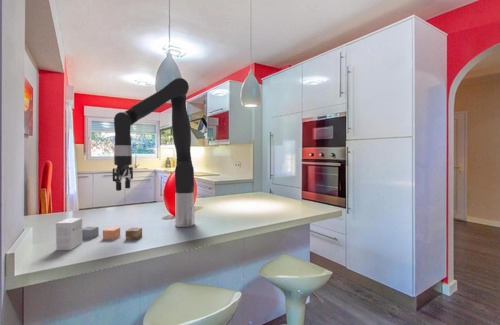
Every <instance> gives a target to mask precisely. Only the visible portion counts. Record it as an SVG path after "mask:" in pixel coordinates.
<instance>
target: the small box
mask: <svg viewBox="0 0 500 325" xmlns="http://www.w3.org/2000/svg"><path fill="white" fill-rule="evenodd" d="M82 229H83V218H82V217H68V218H65V219H63V220H61V221H59V222H56V223H55V245H56V251H72V250H73V249H75V248H76V247H79V246H80V245H81V244H83V239H82Z"/></svg>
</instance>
